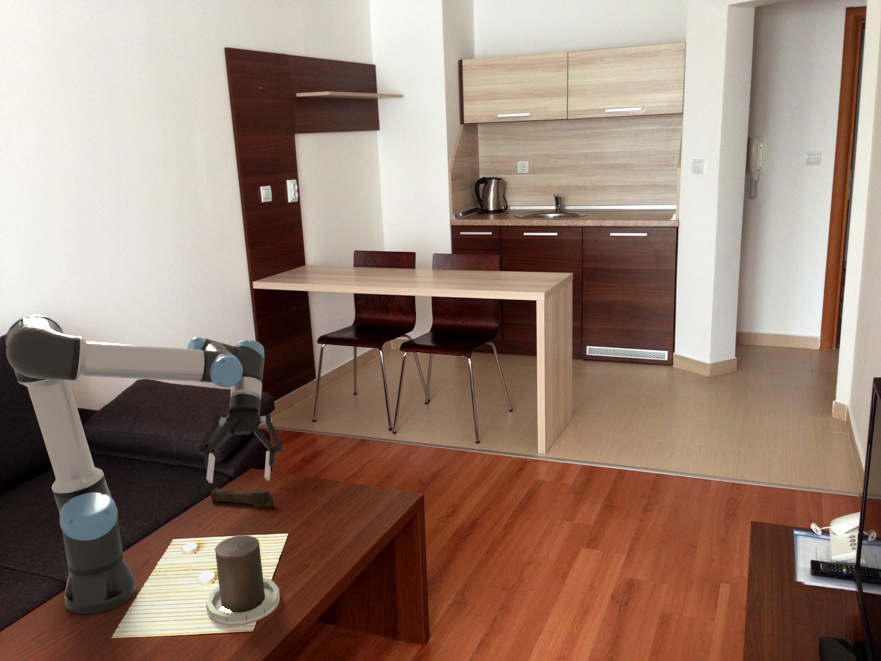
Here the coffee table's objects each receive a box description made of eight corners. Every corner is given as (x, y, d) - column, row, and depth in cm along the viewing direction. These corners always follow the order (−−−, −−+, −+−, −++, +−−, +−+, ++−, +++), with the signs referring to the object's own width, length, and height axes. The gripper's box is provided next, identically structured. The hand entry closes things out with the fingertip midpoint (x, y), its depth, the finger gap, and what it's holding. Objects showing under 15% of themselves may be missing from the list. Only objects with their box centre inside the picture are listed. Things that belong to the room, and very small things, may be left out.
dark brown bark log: (210, 504, 227) (208, 489, 226) (218, 498, 231) (216, 483, 229) (268, 511, 221) (267, 496, 220) (275, 505, 225) (274, 490, 224)
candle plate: (199, 627, 169) (198, 619, 168) (215, 586, 184) (214, 578, 184) (274, 622, 170) (273, 614, 169) (284, 581, 185) (283, 574, 185)
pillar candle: (268, 606, 174) (262, 545, 171) (223, 617, 171) (216, 554, 167) (261, 584, 183) (255, 526, 179) (218, 594, 179) (211, 534, 176)
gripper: (297, 403, 200) (293, 483, 190) (199, 407, 200) (189, 487, 189) (293, 390, 194) (288, 472, 183) (191, 394, 193) (180, 476, 182)
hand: (238, 480), depth 186 cm, fingers open, 13 cm apart
